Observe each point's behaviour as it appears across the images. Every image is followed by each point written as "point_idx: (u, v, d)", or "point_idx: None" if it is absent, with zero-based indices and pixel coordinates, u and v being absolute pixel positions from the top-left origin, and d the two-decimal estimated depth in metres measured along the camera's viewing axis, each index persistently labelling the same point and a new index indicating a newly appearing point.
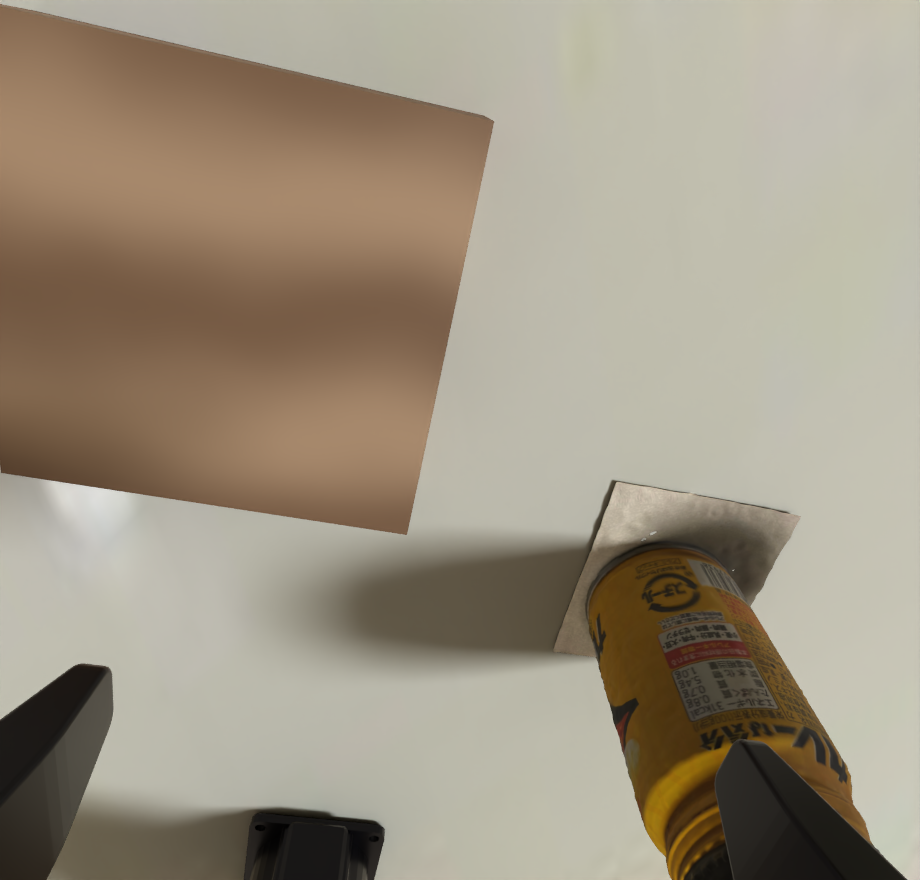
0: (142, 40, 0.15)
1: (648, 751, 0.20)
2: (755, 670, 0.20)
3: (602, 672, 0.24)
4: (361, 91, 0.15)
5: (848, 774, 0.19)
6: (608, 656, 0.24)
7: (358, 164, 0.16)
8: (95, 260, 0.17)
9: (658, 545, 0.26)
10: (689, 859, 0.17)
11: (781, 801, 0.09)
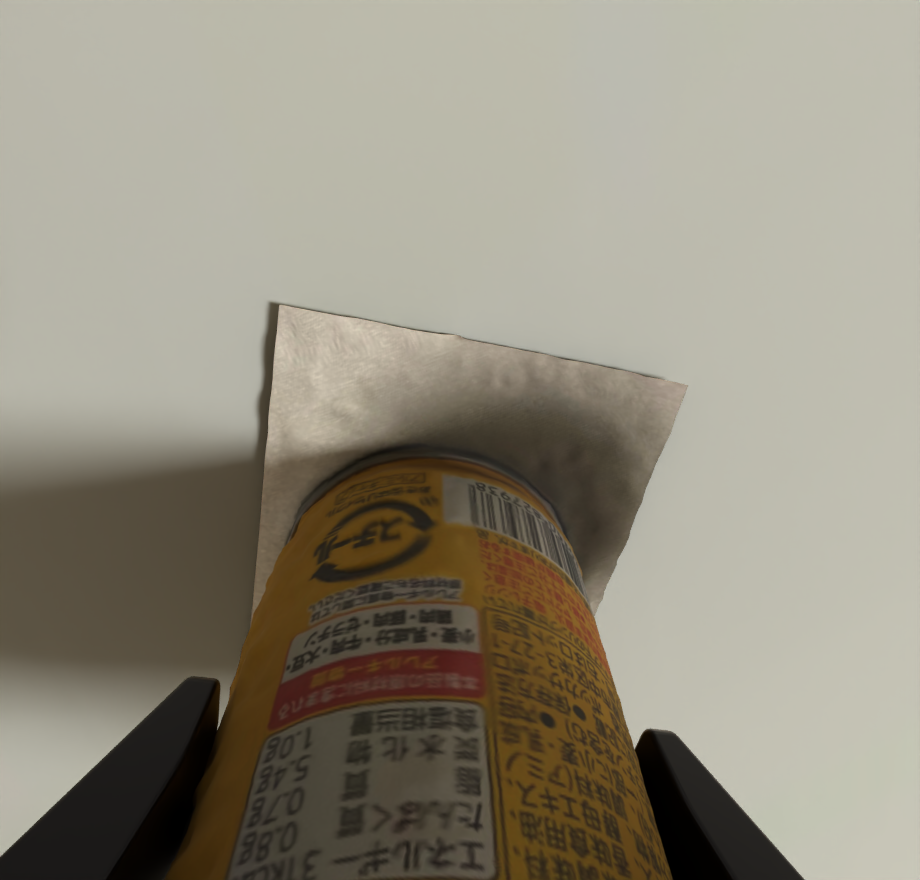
0: None
1: None
2: (477, 737, 0.07)
3: None
4: None
5: None
6: None
7: None
8: None
9: (401, 453, 0.13)
10: None
11: (679, 790, 0.09)
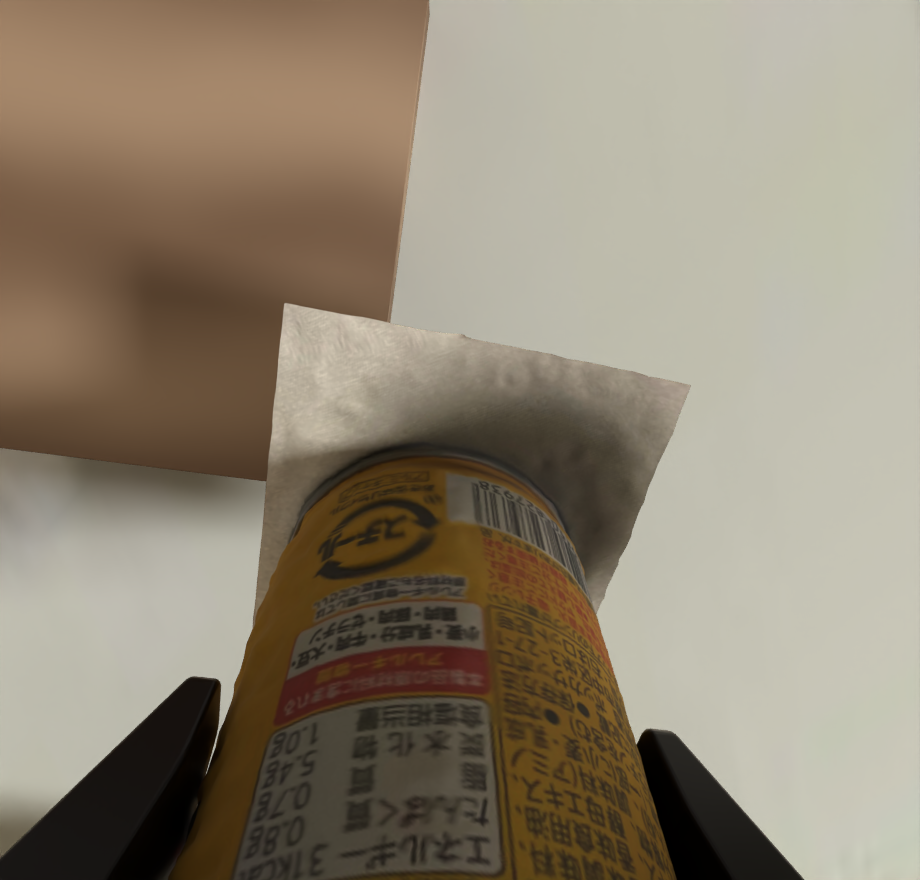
0: None
1: None
2: (483, 733, 0.07)
3: None
4: None
5: None
6: None
7: (277, 53, 0.14)
8: None
9: (405, 451, 0.13)
10: None
11: (679, 790, 0.09)
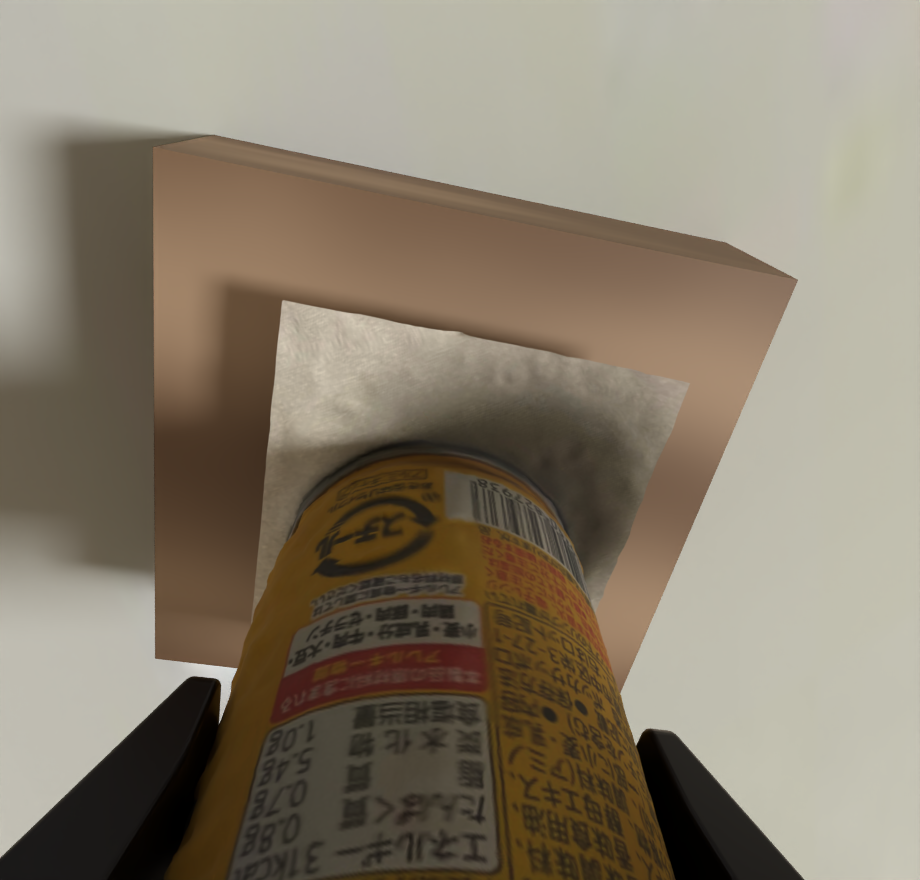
0: (387, 196, 0.12)
1: None
2: (479, 730, 0.07)
3: None
4: (643, 249, 0.13)
5: None
6: None
7: (627, 330, 0.13)
8: None
9: (403, 449, 0.13)
10: None
11: (679, 790, 0.09)
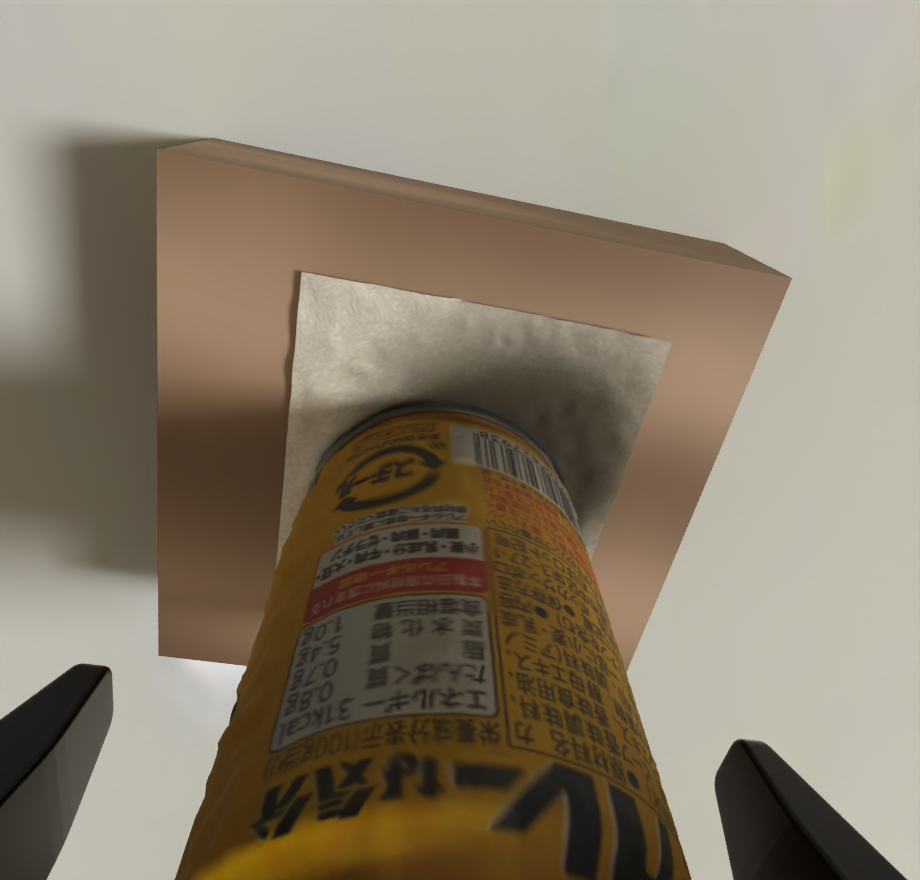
0: (386, 197, 0.12)
1: (193, 827, 0.08)
2: (481, 620, 0.08)
3: None
4: (639, 248, 0.13)
5: None
6: None
7: (623, 328, 0.13)
8: None
9: (412, 408, 0.14)
10: None
11: (781, 801, 0.09)
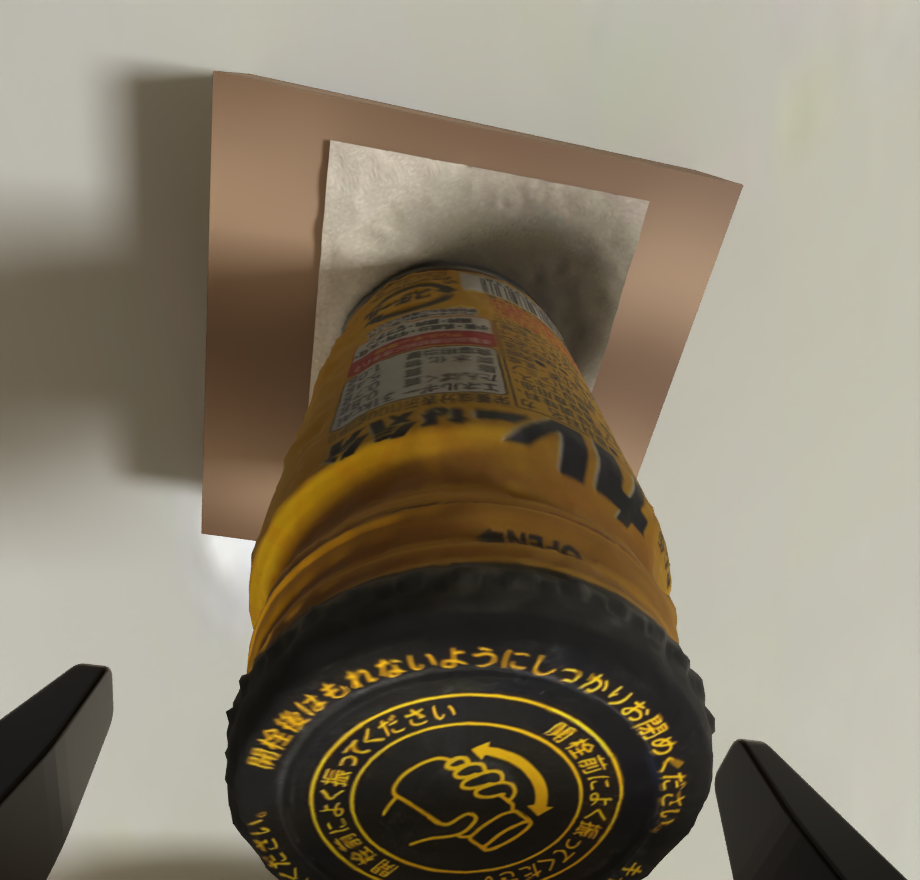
0: (403, 112, 0.15)
1: None
2: (492, 358, 0.10)
3: None
4: (614, 158, 0.15)
5: (651, 519, 0.09)
6: None
7: None
8: None
9: (426, 267, 0.16)
10: None
11: (781, 801, 0.09)
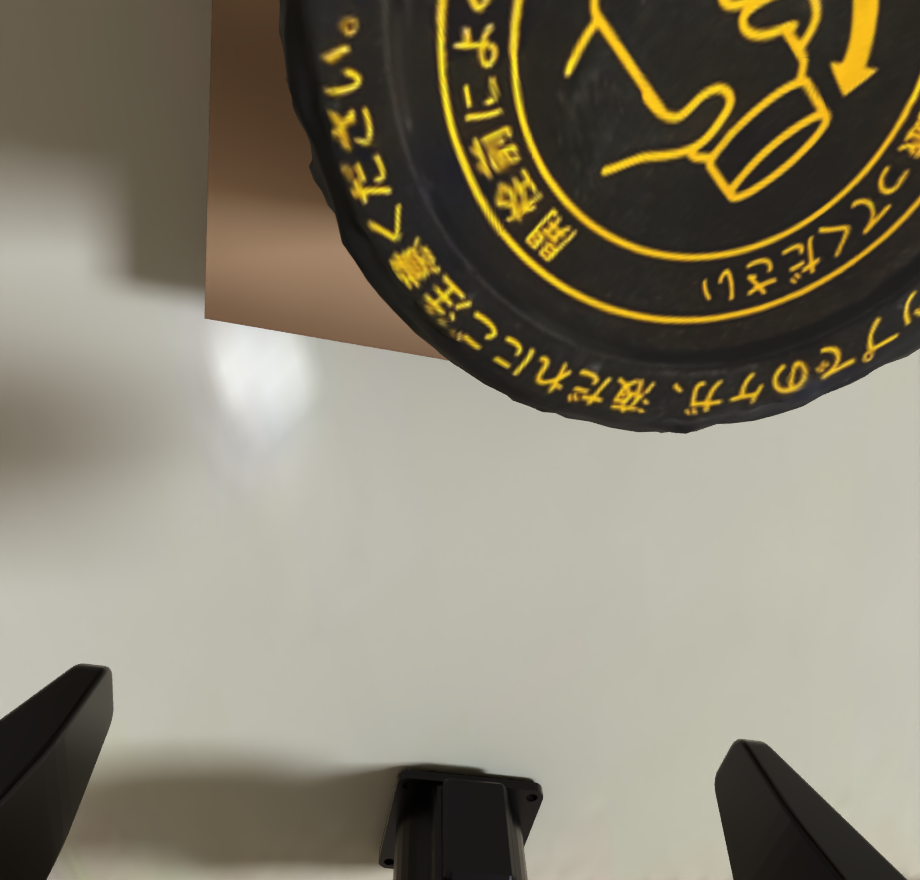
0: None
1: None
2: None
3: None
4: None
5: None
6: None
7: None
8: None
9: None
10: None
11: (781, 801, 0.09)
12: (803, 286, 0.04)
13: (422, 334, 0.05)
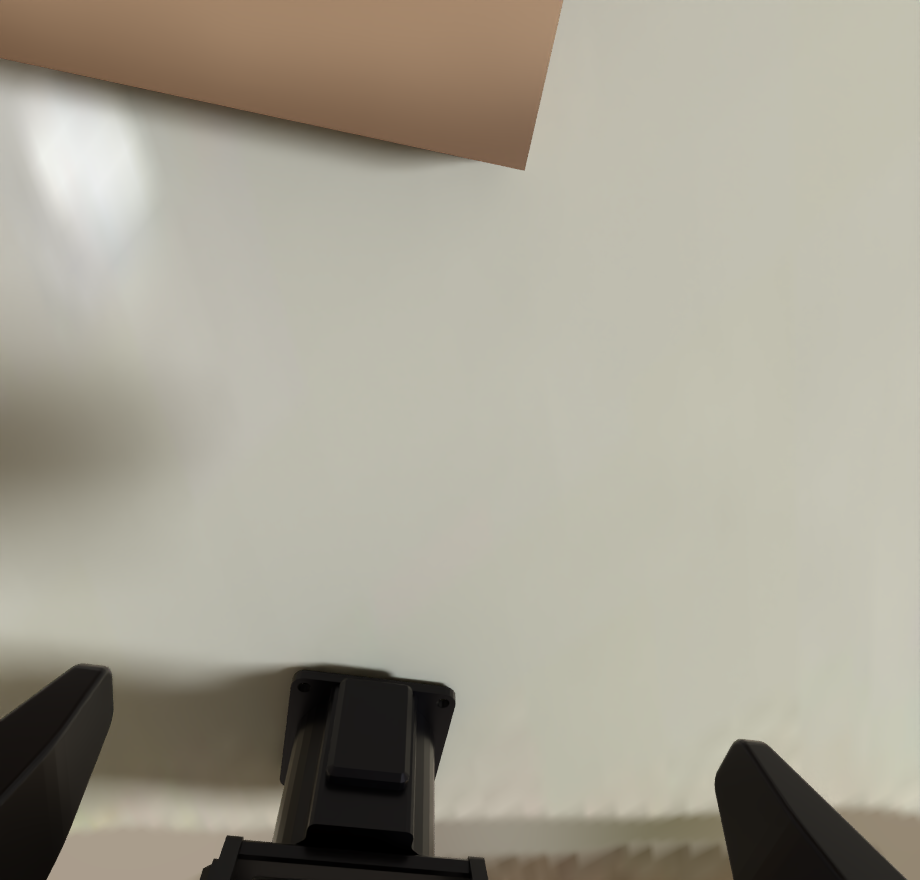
0: None
1: None
2: None
3: None
4: None
5: None
6: None
7: None
8: None
9: None
10: None
11: (781, 801, 0.09)
12: None
13: None
